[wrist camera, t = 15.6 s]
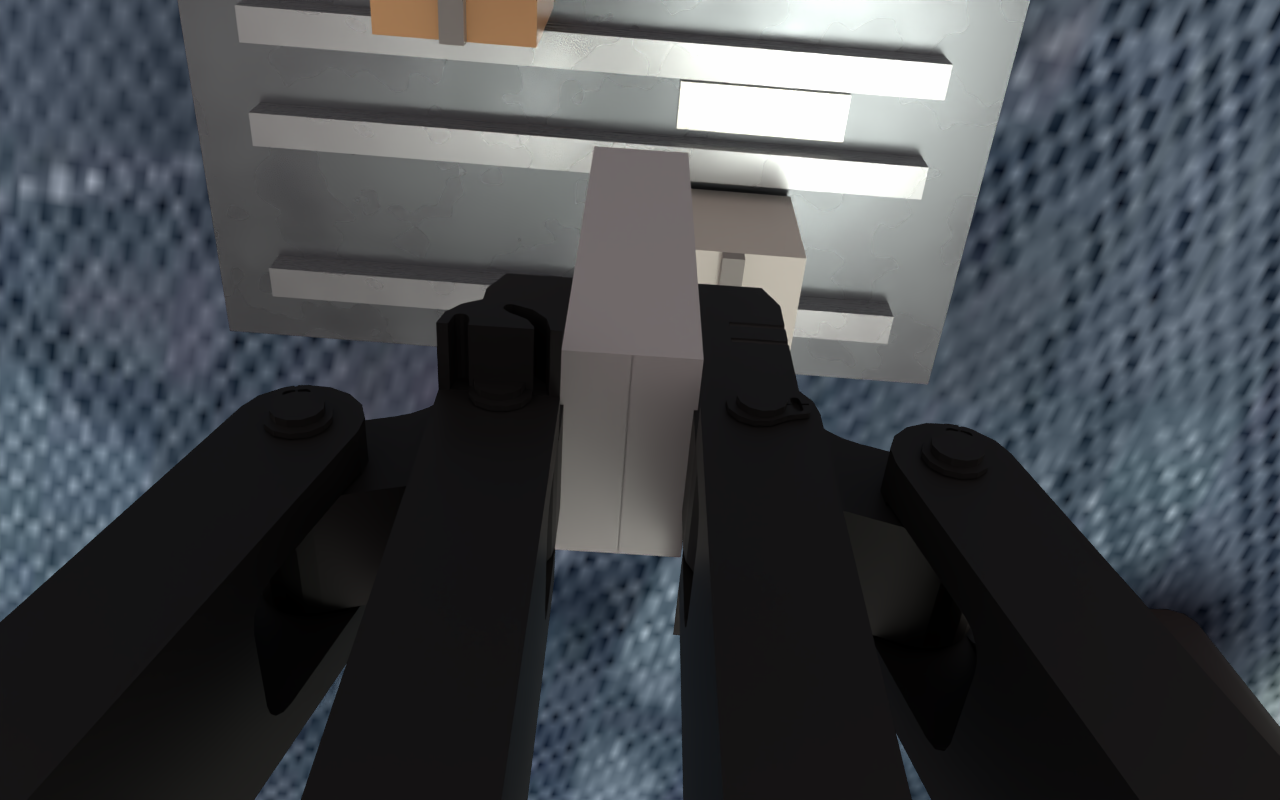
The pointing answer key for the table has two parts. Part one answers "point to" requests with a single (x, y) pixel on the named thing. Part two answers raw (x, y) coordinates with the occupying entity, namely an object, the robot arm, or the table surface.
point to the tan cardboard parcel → (463, 20)
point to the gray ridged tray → (563, 149)
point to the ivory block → (750, 245)
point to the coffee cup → (1220, 672)
